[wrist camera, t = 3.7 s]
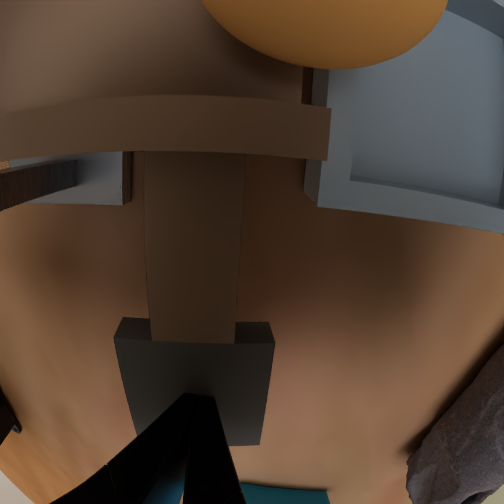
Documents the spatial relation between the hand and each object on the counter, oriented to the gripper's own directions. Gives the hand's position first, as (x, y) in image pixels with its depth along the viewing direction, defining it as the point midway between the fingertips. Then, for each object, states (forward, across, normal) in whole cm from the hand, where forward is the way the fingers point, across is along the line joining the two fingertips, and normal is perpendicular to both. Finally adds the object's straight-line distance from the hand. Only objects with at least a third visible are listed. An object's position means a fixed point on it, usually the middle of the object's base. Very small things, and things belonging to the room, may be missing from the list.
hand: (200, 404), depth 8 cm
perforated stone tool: (+6, -15, +6) cm, 17 cm away
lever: (0, +7, -6) cm, 9 cm away
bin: (+5, -7, -10) cm, 13 cm away
